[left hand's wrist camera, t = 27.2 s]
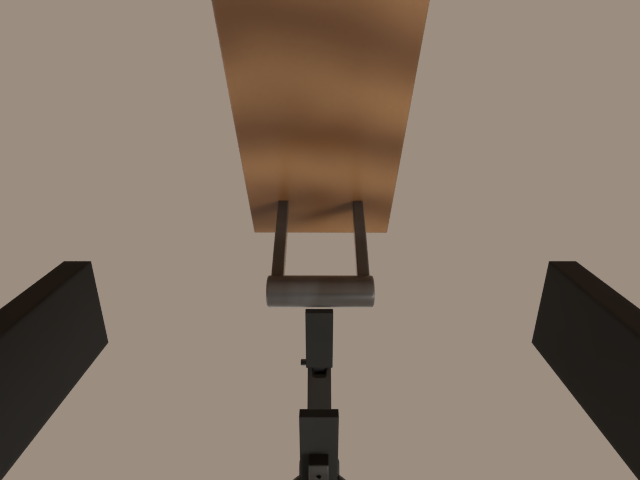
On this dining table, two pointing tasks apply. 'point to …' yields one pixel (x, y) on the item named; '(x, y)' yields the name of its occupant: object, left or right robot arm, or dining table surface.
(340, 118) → the lid
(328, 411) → the right robot arm
